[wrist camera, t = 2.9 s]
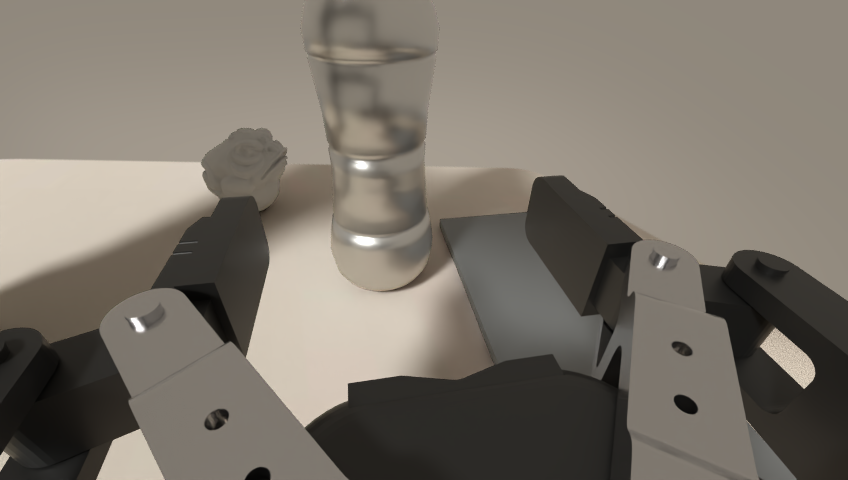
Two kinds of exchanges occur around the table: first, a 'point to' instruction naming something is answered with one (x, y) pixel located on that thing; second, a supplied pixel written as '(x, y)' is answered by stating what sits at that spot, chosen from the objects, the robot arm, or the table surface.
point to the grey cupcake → (246, 166)
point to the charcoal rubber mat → (536, 306)
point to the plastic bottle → (375, 131)
